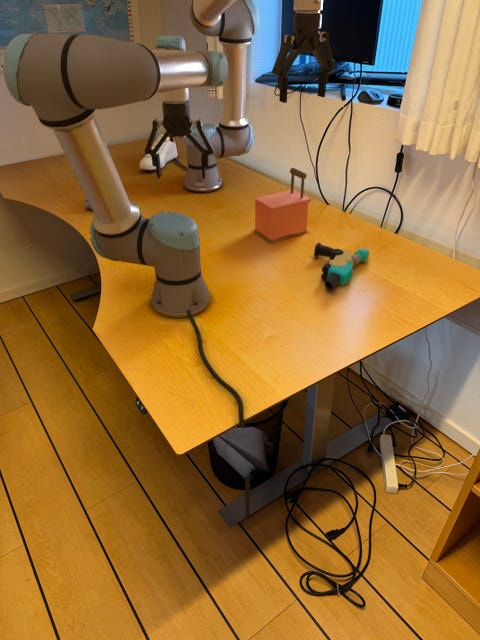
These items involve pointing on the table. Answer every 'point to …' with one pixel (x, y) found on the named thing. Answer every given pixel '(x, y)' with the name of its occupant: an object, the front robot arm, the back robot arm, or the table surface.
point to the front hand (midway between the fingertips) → (181, 177)
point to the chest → (280, 222)
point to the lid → (286, 195)
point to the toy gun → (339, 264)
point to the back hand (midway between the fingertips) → (302, 99)
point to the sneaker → (161, 153)
